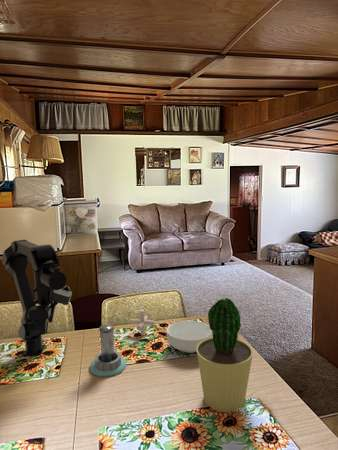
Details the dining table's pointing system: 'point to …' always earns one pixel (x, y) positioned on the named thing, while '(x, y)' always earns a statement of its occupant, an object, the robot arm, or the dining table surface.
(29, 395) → the dining table surface
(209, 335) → the cereal bowl
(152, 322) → the pipe connector
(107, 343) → the gray tube
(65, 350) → the dining table surface
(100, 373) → the collar
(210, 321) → the potted cactus
